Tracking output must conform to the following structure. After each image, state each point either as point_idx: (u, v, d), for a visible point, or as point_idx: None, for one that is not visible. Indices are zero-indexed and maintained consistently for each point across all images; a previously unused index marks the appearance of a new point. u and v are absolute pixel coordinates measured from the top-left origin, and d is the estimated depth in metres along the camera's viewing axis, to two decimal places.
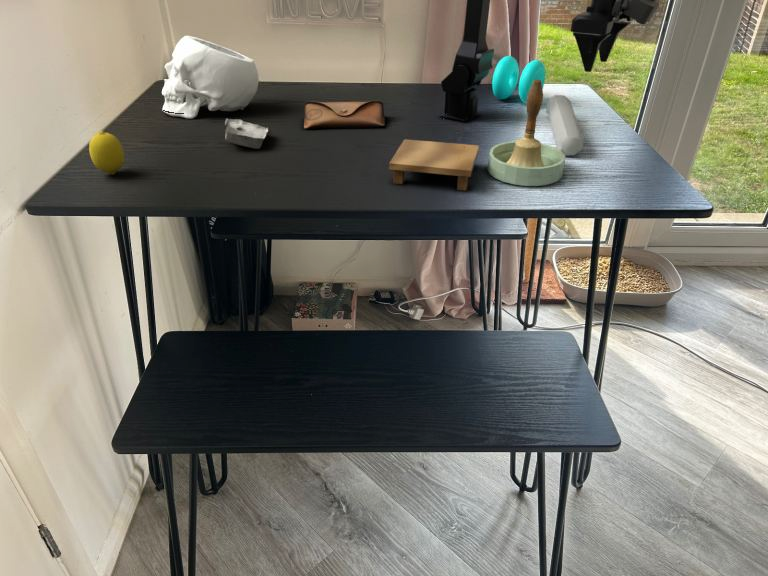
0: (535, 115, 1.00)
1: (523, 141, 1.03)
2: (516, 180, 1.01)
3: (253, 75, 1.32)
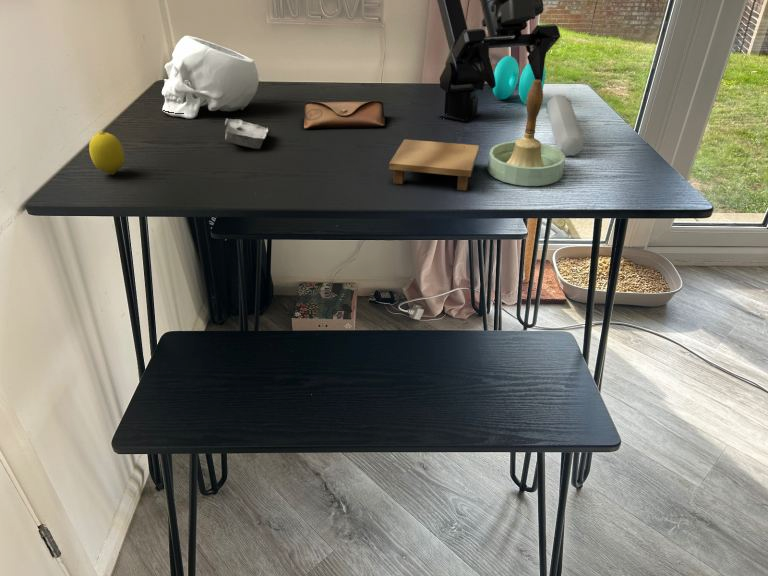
0: (535, 115, 1.00)
1: (523, 141, 1.03)
2: (516, 180, 1.01)
3: (253, 75, 1.32)
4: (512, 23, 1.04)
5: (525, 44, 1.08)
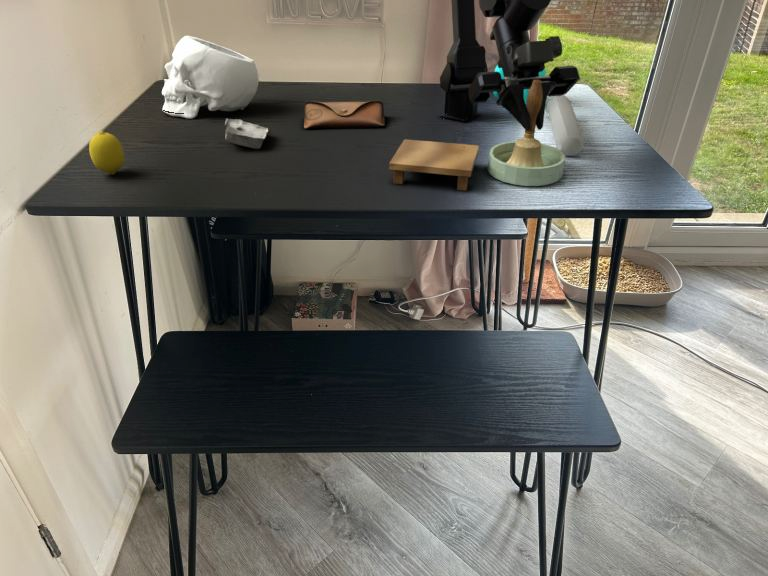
0: (535, 115, 1.00)
1: (523, 141, 1.03)
2: (516, 180, 1.01)
3: (253, 75, 1.32)
4: (529, 65, 0.99)
5: None
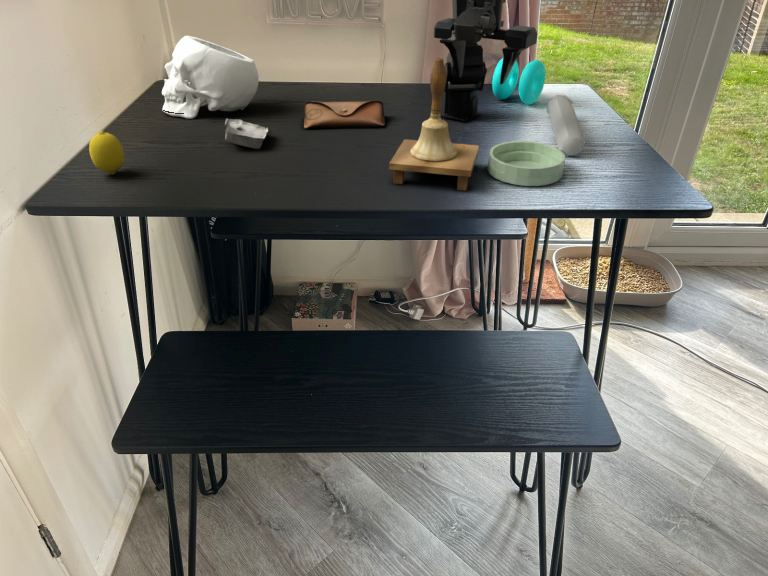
0: (437, 95, 0.98)
1: (427, 121, 1.01)
2: (516, 180, 1.01)
3: (253, 75, 1.32)
4: None
5: None
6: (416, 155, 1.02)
